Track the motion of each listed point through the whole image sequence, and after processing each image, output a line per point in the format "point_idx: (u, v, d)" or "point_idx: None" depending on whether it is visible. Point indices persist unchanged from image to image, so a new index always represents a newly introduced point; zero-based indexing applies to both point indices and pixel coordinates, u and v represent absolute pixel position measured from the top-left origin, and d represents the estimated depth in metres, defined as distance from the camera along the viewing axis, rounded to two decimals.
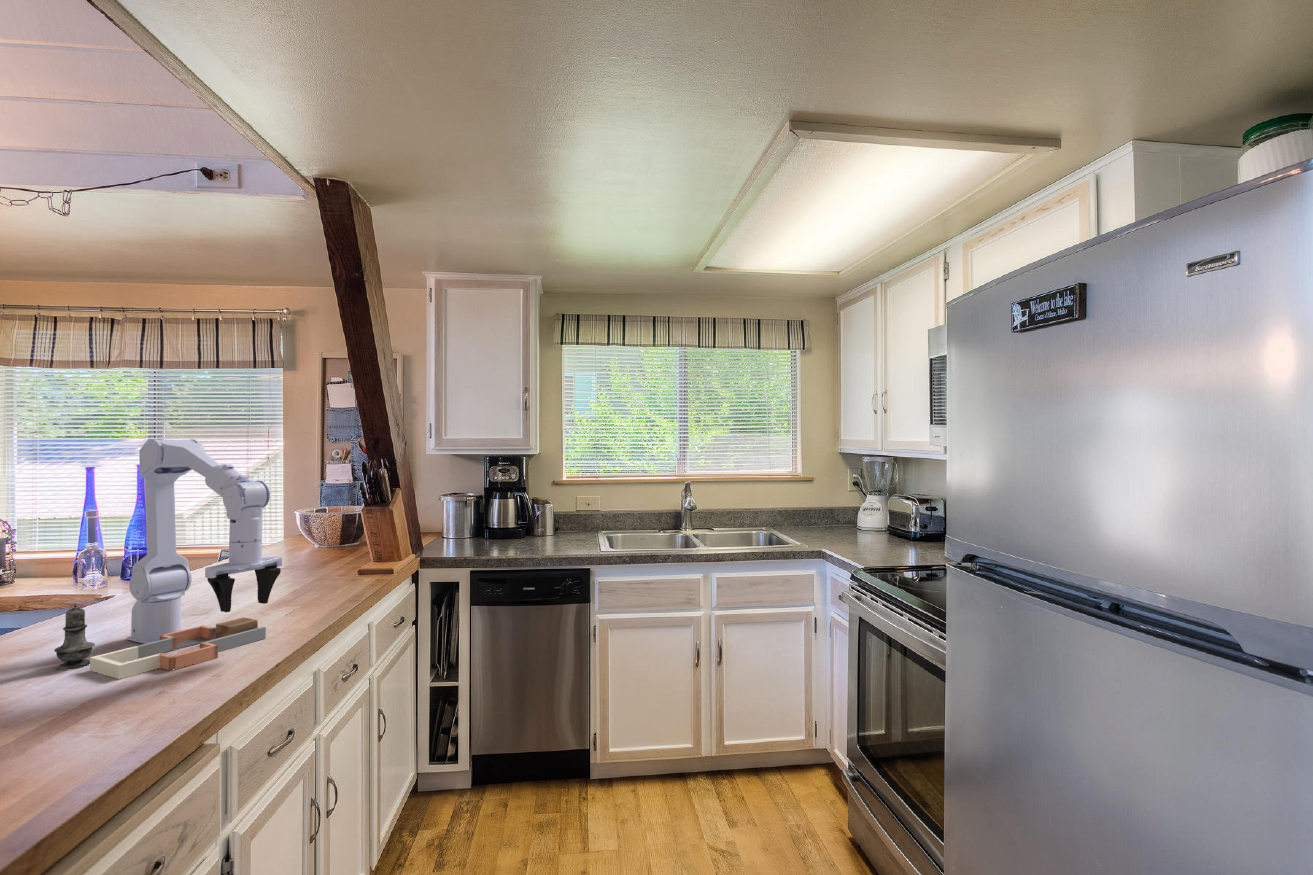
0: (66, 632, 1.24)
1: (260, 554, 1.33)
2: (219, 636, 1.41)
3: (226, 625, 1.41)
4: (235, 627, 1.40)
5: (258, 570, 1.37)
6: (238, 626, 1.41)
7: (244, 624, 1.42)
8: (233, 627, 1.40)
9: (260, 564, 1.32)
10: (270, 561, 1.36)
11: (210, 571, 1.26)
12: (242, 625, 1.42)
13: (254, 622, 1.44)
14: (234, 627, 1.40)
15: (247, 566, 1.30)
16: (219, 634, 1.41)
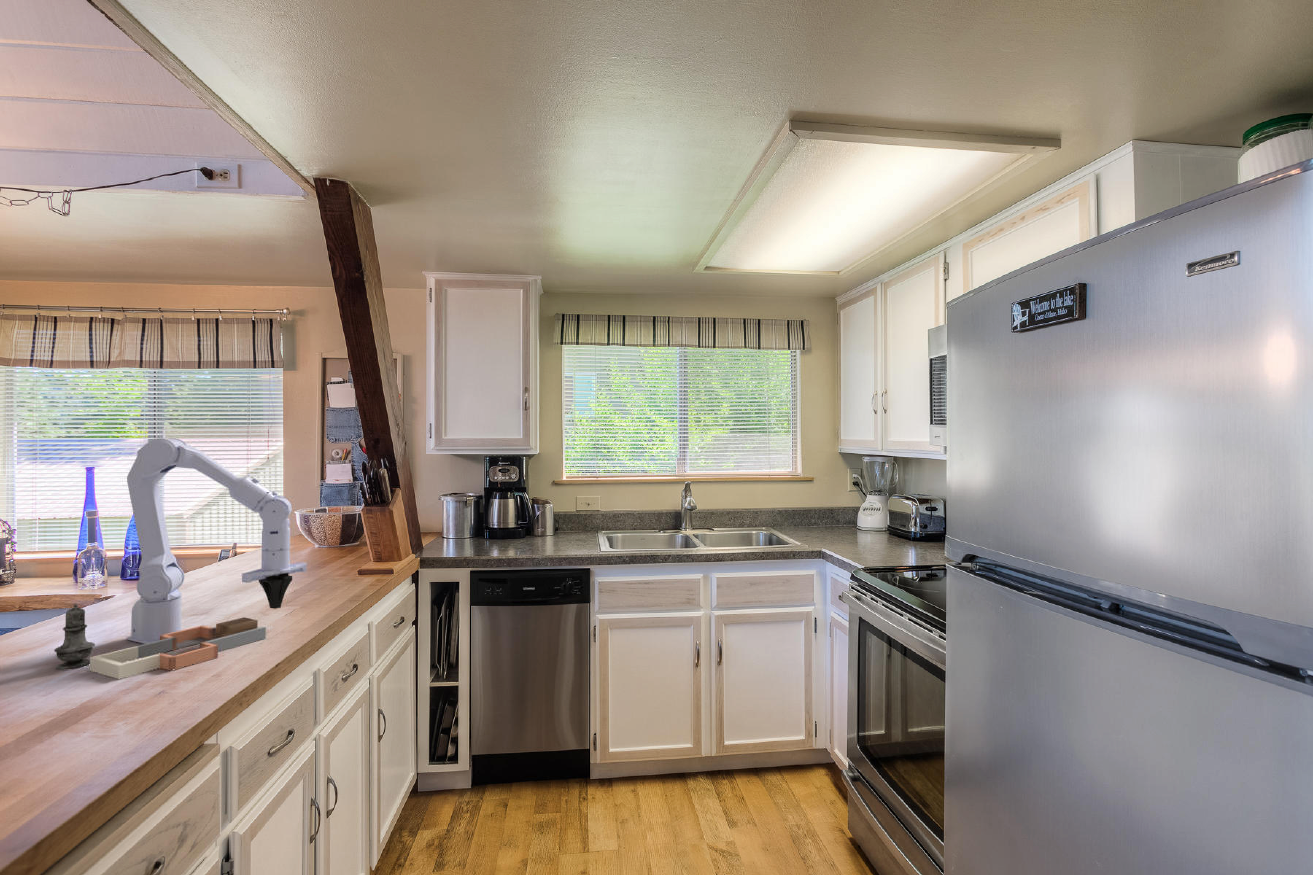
0: (66, 632, 1.24)
1: (288, 561, 1.52)
2: (219, 636, 1.41)
3: (226, 625, 1.41)
4: (234, 627, 1.40)
5: None
6: (238, 626, 1.41)
7: (244, 624, 1.42)
8: (232, 627, 1.40)
9: (289, 570, 1.50)
10: (297, 567, 1.54)
11: (246, 577, 1.44)
12: (242, 625, 1.42)
13: (254, 622, 1.44)
14: (233, 627, 1.40)
15: (278, 572, 1.49)
16: (219, 634, 1.41)
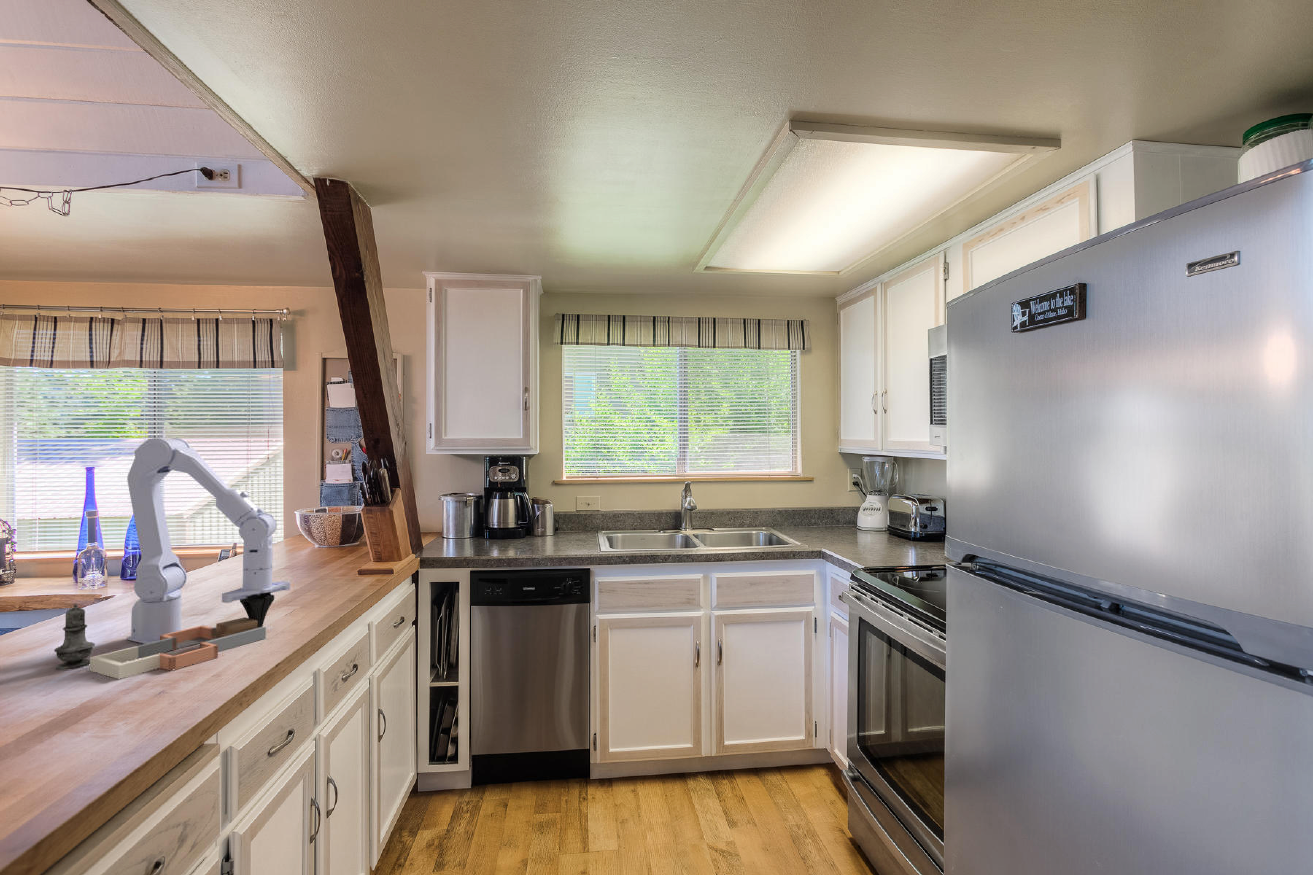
0: (66, 632, 1.24)
1: (270, 580, 1.48)
2: (219, 636, 1.41)
3: (225, 625, 1.41)
4: (234, 627, 1.40)
5: None
6: (237, 626, 1.41)
7: (243, 624, 1.42)
8: (232, 627, 1.40)
9: (271, 589, 1.46)
10: (279, 586, 1.50)
11: (226, 597, 1.40)
12: (241, 625, 1.42)
13: (254, 622, 1.44)
14: (233, 627, 1.40)
15: (259, 591, 1.45)
16: (219, 634, 1.41)
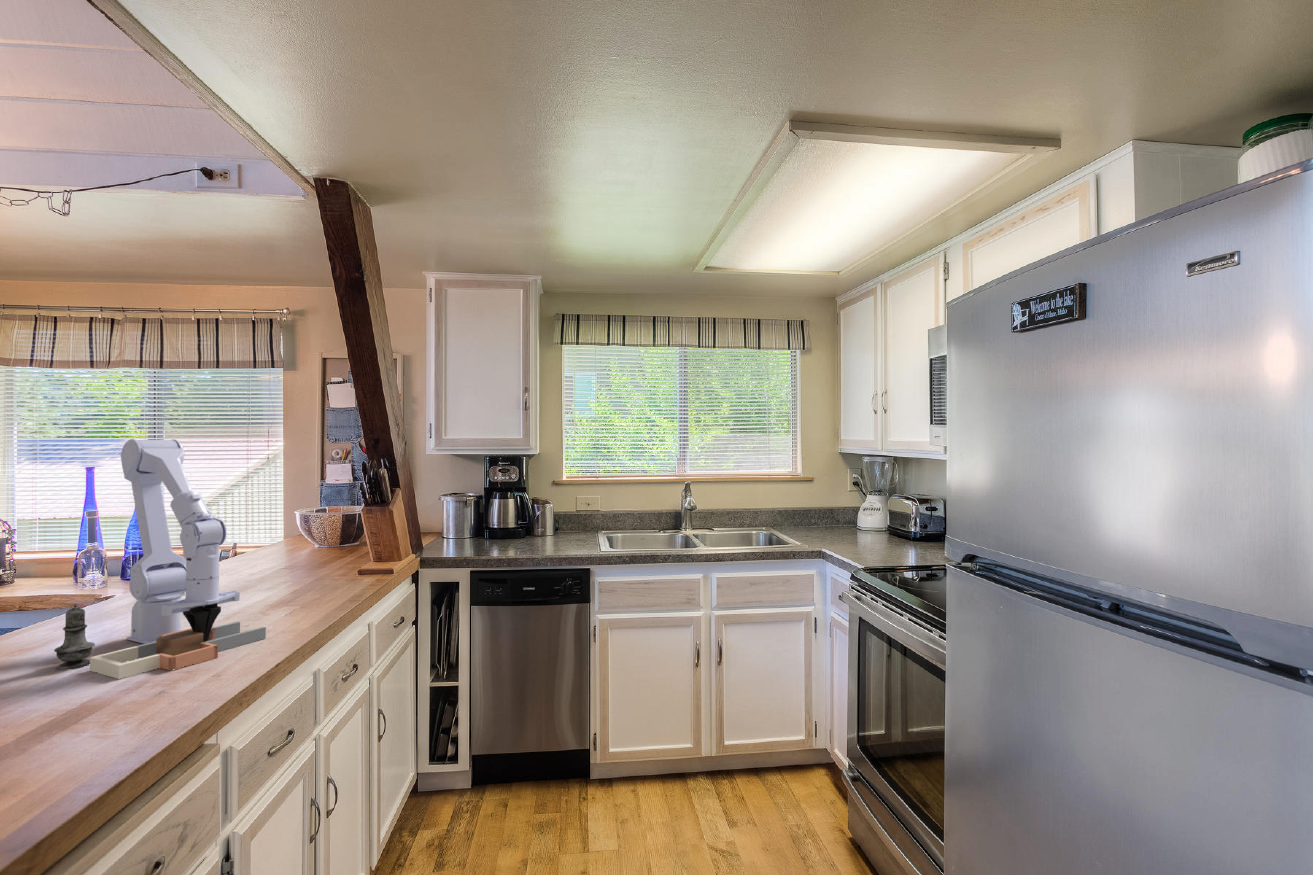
0: (66, 632, 1.24)
1: (217, 590, 1.37)
2: (160, 651, 1.30)
3: (167, 639, 1.30)
4: (177, 641, 1.30)
5: None
6: (181, 640, 1.30)
7: (188, 638, 1.31)
8: (175, 641, 1.29)
9: (216, 600, 1.35)
10: (227, 596, 1.39)
11: (165, 609, 1.30)
12: (185, 639, 1.31)
13: (199, 635, 1.33)
14: (176, 641, 1.29)
15: (203, 603, 1.34)
16: (159, 649, 1.30)
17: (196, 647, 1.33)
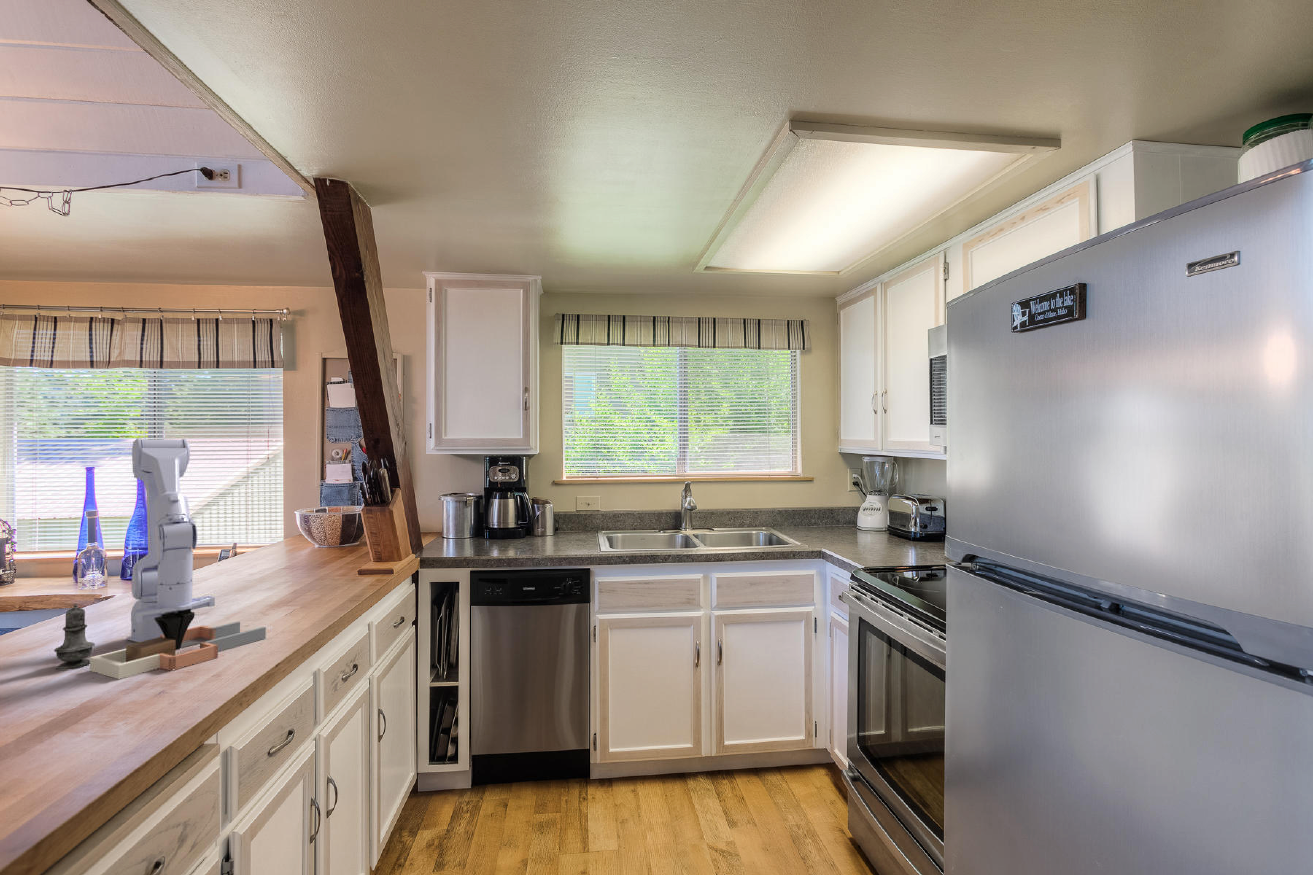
0: (66, 632, 1.24)
1: (190, 595, 1.32)
2: (130, 659, 1.25)
3: (137, 647, 1.25)
4: (148, 649, 1.25)
5: None
6: (151, 647, 1.25)
7: (159, 645, 1.27)
8: (145, 649, 1.24)
9: (189, 606, 1.31)
10: (201, 602, 1.35)
11: (135, 616, 1.25)
12: (156, 646, 1.26)
13: (171, 642, 1.29)
14: (146, 649, 1.25)
15: (175, 608, 1.29)
16: (129, 657, 1.25)
17: None
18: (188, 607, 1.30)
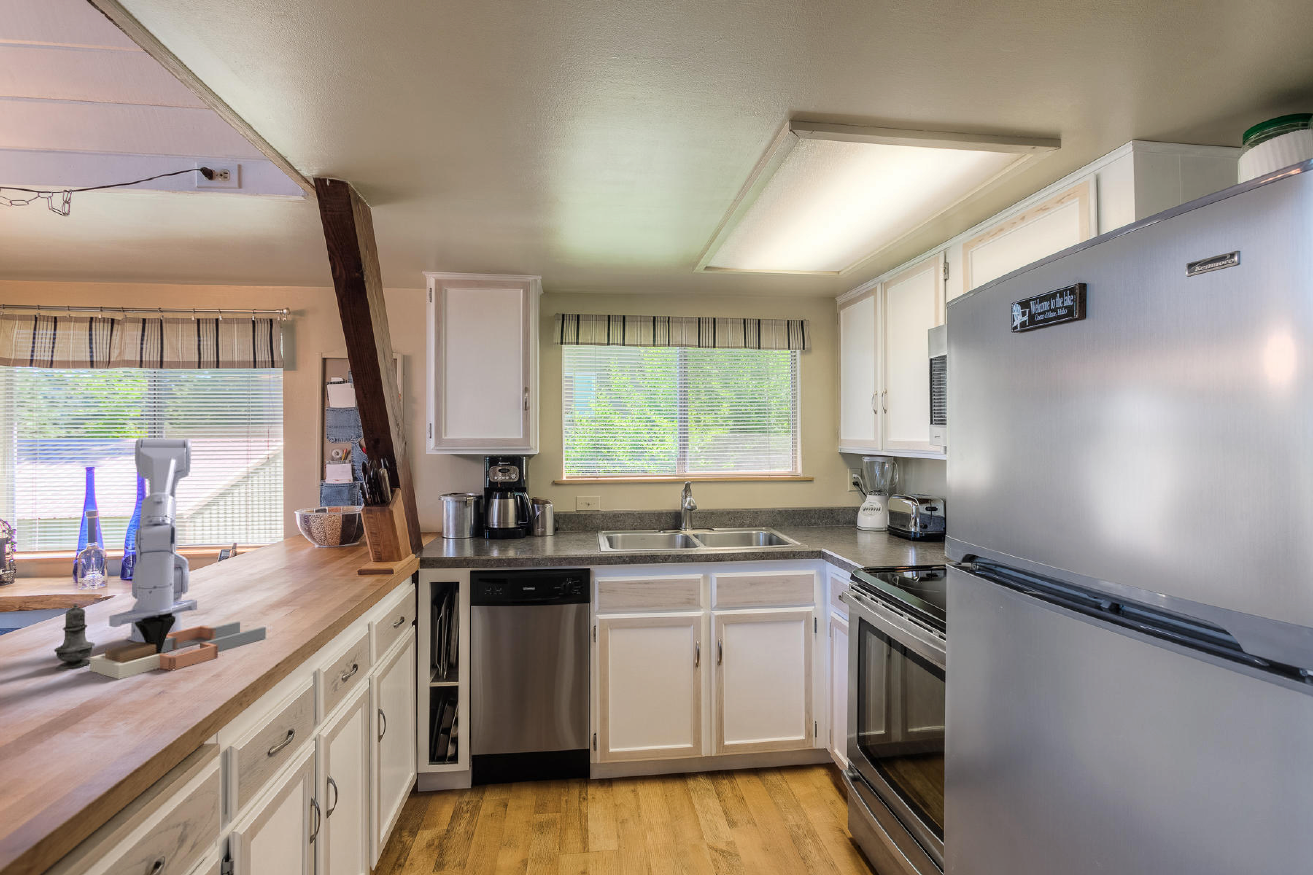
0: (66, 632, 1.24)
1: (171, 599, 1.29)
2: None
3: (116, 652, 1.22)
4: (127, 654, 1.22)
5: None
6: (131, 653, 1.22)
7: (138, 650, 1.23)
8: (124, 654, 1.21)
9: (170, 610, 1.27)
10: (183, 606, 1.32)
11: (114, 620, 1.22)
12: (136, 651, 1.23)
13: (151, 647, 1.25)
14: (125, 654, 1.21)
15: (155, 613, 1.26)
16: None
17: None
18: (169, 611, 1.27)
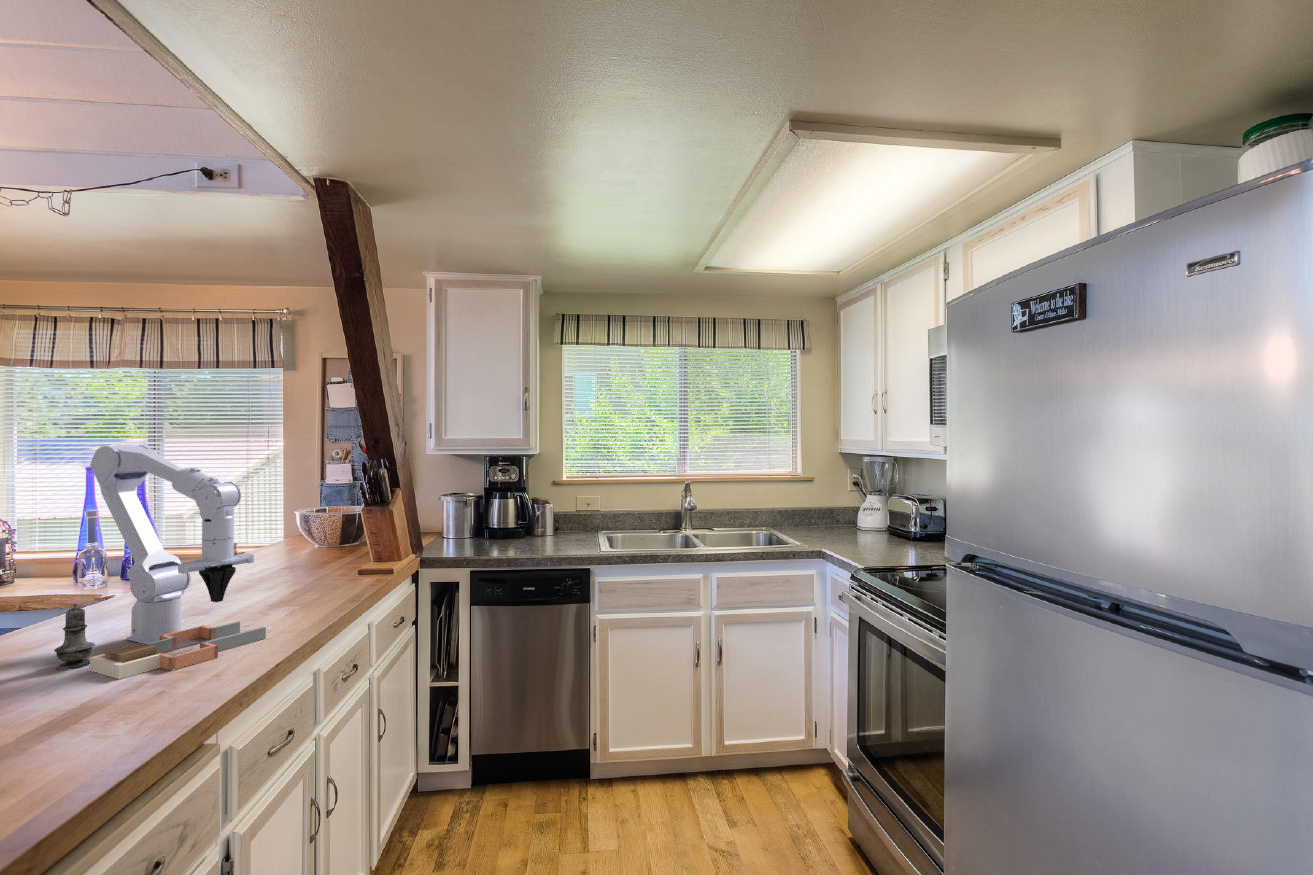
0: (66, 632, 1.24)
1: (231, 551, 1.41)
2: None
3: (116, 653, 1.22)
4: (127, 655, 1.22)
5: None
6: (131, 654, 1.22)
7: (139, 651, 1.24)
8: (124, 655, 1.21)
9: (231, 561, 1.39)
10: (241, 558, 1.44)
11: (182, 567, 1.34)
12: (136, 652, 1.23)
13: (152, 648, 1.26)
14: (126, 655, 1.21)
15: (218, 562, 1.38)
16: None
17: None
18: (230, 561, 1.39)
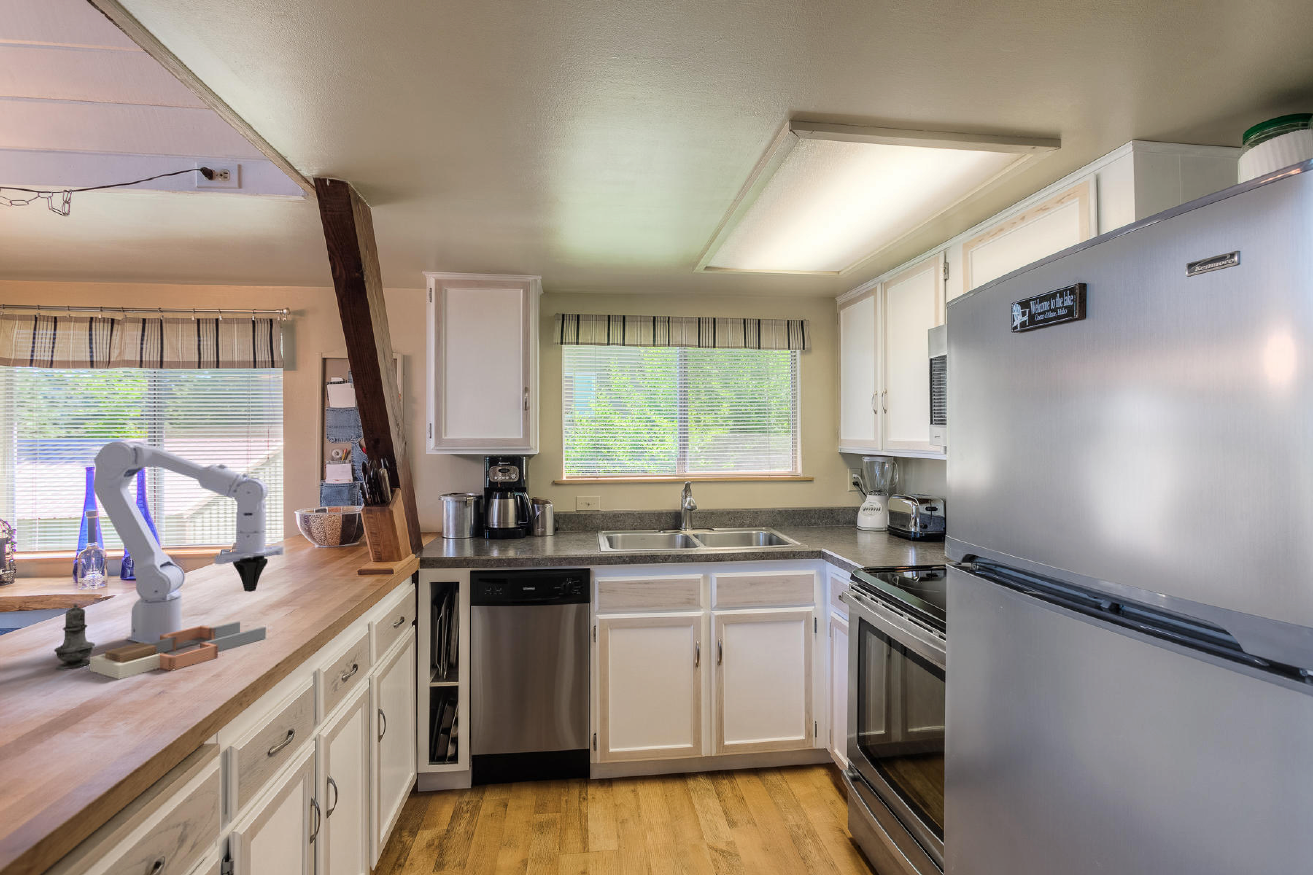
0: (66, 632, 1.24)
1: (264, 543, 1.49)
2: None
3: (116, 653, 1.22)
4: (127, 655, 1.22)
5: None
6: (131, 654, 1.22)
7: (139, 651, 1.24)
8: (124, 655, 1.21)
9: (264, 552, 1.48)
10: (272, 550, 1.52)
11: (219, 558, 1.42)
12: (136, 652, 1.23)
13: (152, 648, 1.26)
14: (126, 655, 1.21)
15: (252, 554, 1.46)
16: None
17: None
18: (263, 553, 1.47)
